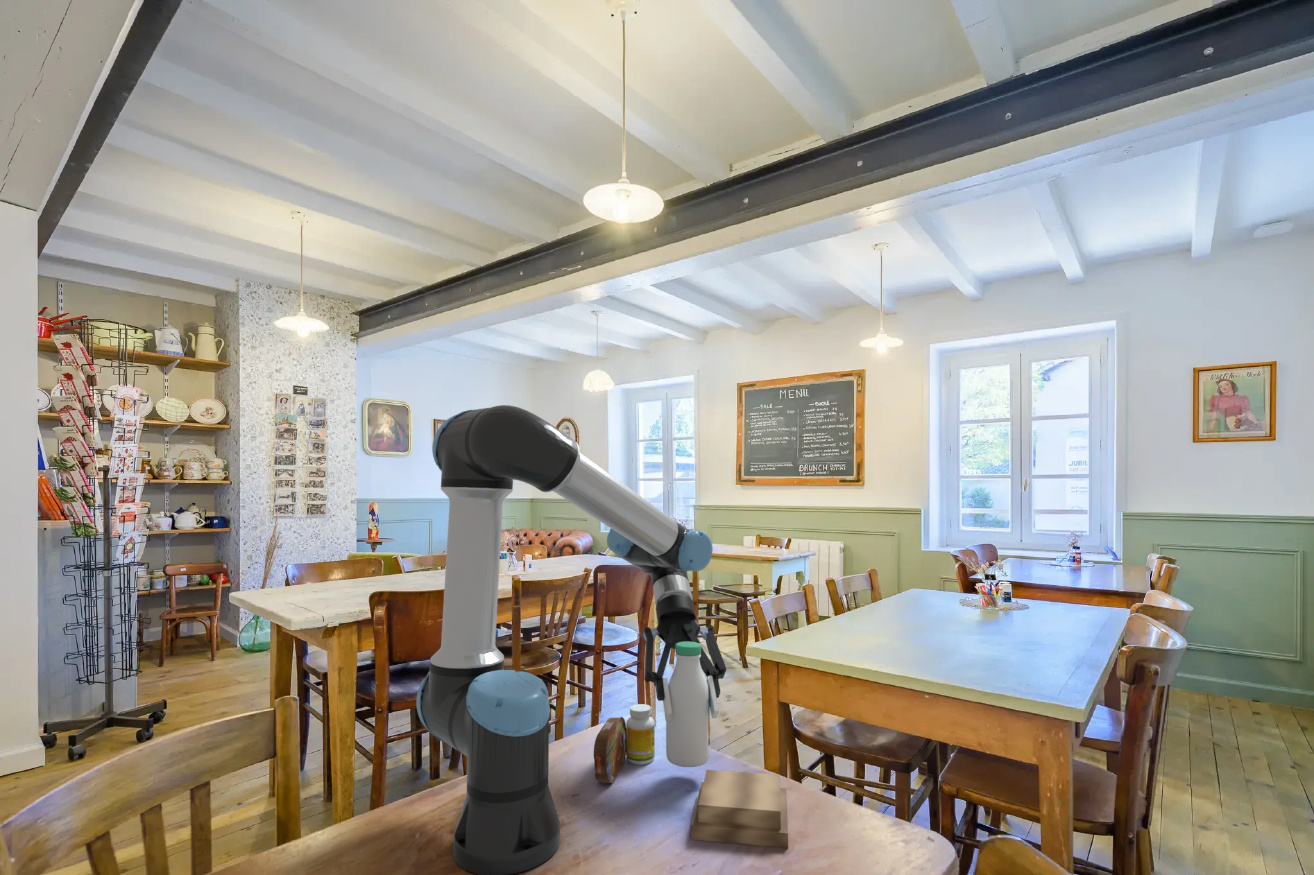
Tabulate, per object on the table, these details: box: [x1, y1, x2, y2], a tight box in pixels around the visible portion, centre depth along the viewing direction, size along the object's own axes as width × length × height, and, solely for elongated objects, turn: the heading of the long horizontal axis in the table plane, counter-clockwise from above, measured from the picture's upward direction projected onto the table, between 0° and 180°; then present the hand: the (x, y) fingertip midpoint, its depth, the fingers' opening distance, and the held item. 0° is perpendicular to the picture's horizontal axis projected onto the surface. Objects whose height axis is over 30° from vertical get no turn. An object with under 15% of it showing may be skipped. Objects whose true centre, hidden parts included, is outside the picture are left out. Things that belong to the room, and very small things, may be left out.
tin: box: [593, 716, 627, 784], centre depth 119 cm, size 15×3×8 cm, turn 169°
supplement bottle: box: [625, 703, 656, 766], centre depth 124 cm, size 5×5×10 cm
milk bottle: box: [665, 641, 711, 768], centre depth 117 cm, size 8×8×20 cm
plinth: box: [690, 769, 789, 849], centre depth 102 cm, size 14×14×4 cm
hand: (692, 715), depth 113 cm, fingers closed on milk bottle, 7 cm apart
